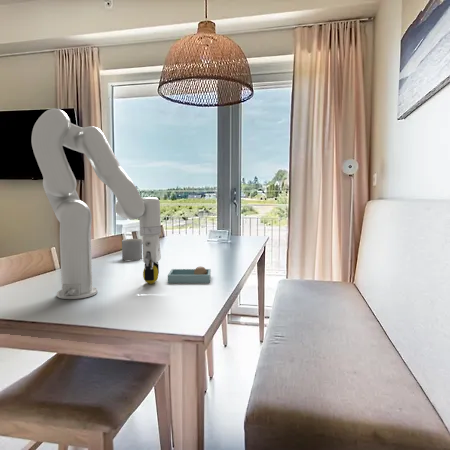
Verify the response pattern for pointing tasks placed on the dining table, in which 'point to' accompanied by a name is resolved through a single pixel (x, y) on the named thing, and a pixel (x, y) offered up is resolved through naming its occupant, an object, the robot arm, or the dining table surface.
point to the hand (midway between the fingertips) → (152, 277)
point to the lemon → (154, 275)
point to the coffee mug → (132, 249)
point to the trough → (188, 276)
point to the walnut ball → (200, 271)
